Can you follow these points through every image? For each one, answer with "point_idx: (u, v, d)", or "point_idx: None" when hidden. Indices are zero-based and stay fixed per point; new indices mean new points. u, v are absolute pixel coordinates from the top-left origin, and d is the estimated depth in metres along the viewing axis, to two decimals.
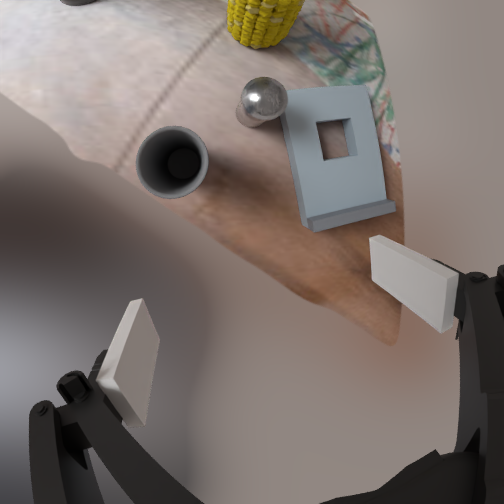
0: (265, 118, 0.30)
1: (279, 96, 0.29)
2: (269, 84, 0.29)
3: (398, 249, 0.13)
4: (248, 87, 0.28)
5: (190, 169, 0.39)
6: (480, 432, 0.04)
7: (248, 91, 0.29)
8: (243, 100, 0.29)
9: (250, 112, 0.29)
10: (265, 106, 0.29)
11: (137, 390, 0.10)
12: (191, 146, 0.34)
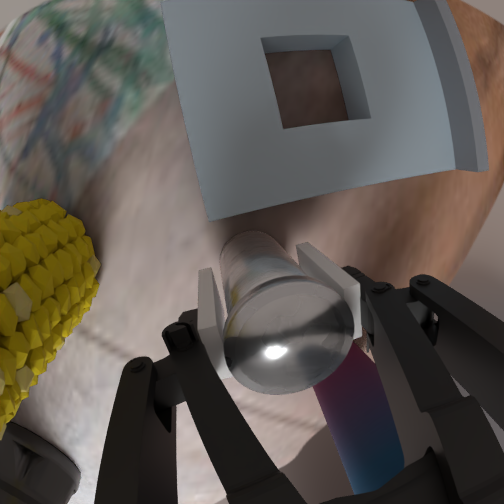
0: (350, 337, 0.11)
1: (288, 310, 0.10)
2: (248, 340, 0.10)
3: (315, 257, 0.15)
4: (261, 385, 0.11)
5: None
6: (434, 451, 0.04)
7: (272, 384, 0.11)
8: (297, 389, 0.11)
9: (330, 371, 0.11)
10: (318, 342, 0.11)
11: None
12: None
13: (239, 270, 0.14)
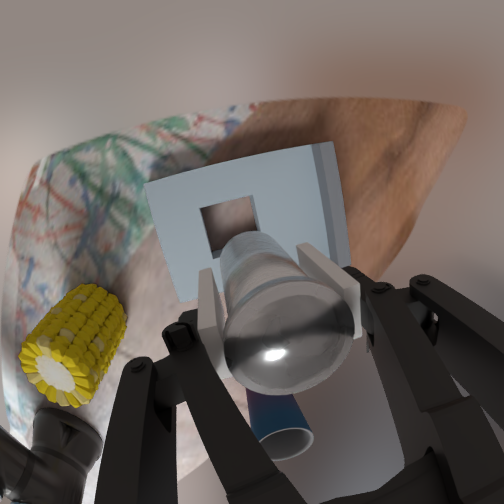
0: (350, 338, 0.11)
1: (288, 310, 0.10)
2: (249, 341, 0.10)
3: (315, 257, 0.15)
4: (261, 386, 0.11)
5: None
6: (434, 451, 0.04)
7: (273, 385, 0.11)
8: (298, 390, 0.11)
9: (330, 371, 0.11)
10: (318, 343, 0.11)
11: None
12: None
13: (239, 270, 0.14)
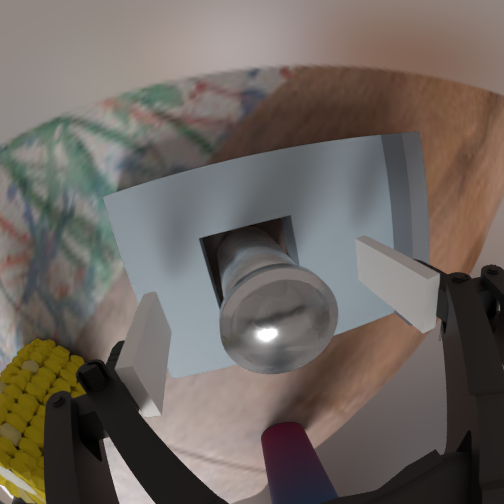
0: (334, 320, 0.12)
1: (276, 293, 0.12)
2: (241, 321, 0.12)
3: (382, 249, 0.14)
4: (253, 364, 0.12)
5: None
6: (471, 435, 0.04)
7: (264, 363, 0.12)
8: (287, 369, 0.13)
9: (317, 352, 0.13)
10: (305, 324, 0.12)
11: (154, 379, 0.11)
12: None
13: (235, 260, 0.15)
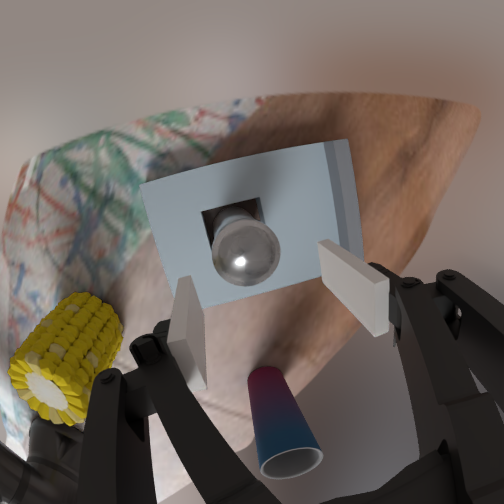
0: (278, 252, 0.22)
1: (242, 233, 0.21)
2: (224, 249, 0.22)
3: (339, 253, 0.15)
4: (231, 278, 0.22)
5: None
6: (448, 444, 0.04)
7: (237, 278, 0.22)
8: (252, 284, 0.23)
9: (269, 273, 0.23)
10: (260, 253, 0.22)
11: (199, 355, 0.12)
12: None
13: (222, 222, 0.25)
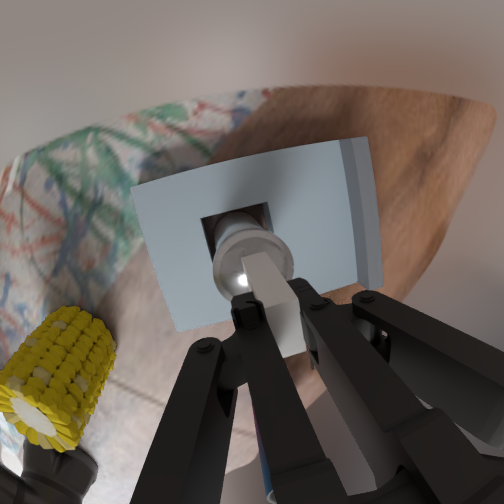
0: (291, 268, 0.19)
1: (249, 246, 0.18)
2: (227, 265, 0.18)
3: (265, 268, 0.15)
4: None
5: None
6: (407, 470, 0.04)
7: None
8: None
9: None
10: None
11: None
12: None
13: (225, 231, 0.22)
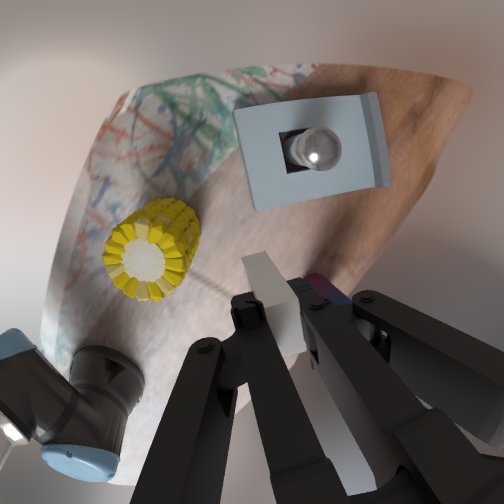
0: (340, 150, 0.31)
1: (318, 134, 0.30)
2: (306, 143, 0.30)
3: (265, 268, 0.15)
4: (310, 164, 0.31)
5: None
6: (407, 470, 0.04)
7: (314, 164, 0.31)
8: (323, 169, 0.32)
9: (335, 163, 0.32)
10: (329, 149, 0.31)
11: None
12: None
13: (297, 136, 0.34)
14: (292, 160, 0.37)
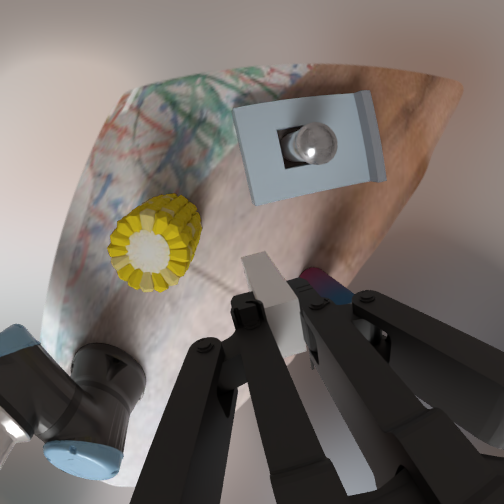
0: (336, 144, 0.32)
1: (315, 129, 0.32)
2: (304, 138, 0.32)
3: (265, 268, 0.15)
4: (308, 158, 0.32)
5: None
6: (407, 470, 0.04)
7: (312, 158, 0.33)
8: (320, 163, 0.33)
9: (331, 157, 0.33)
10: (325, 143, 0.32)
11: None
12: None
13: (295, 132, 0.35)
14: (290, 156, 0.38)
